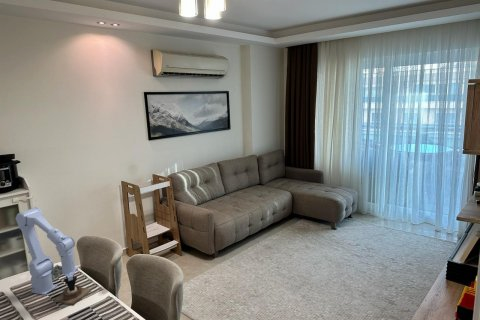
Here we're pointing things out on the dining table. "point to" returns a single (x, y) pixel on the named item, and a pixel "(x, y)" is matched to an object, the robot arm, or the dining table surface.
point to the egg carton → (56, 271)
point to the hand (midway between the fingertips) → (71, 286)
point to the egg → (71, 291)
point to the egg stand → (72, 296)
